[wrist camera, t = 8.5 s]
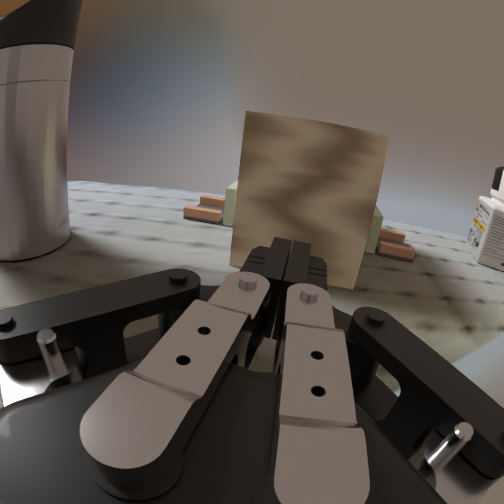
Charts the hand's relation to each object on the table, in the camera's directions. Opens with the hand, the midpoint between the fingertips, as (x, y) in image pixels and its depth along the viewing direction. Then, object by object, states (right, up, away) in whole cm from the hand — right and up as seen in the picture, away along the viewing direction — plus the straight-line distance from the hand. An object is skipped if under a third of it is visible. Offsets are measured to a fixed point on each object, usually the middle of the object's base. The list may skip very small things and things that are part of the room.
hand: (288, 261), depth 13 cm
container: (+32, -1, +22) cm, 39 cm away
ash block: (+3, +1, +18) cm, 19 cm away
